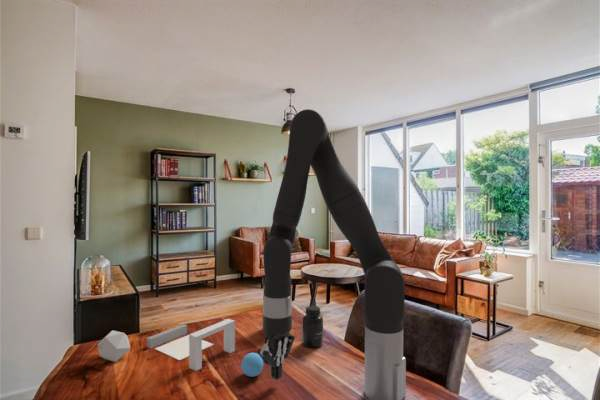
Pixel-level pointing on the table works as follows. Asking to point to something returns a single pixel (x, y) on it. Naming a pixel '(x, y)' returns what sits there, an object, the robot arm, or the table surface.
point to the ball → (252, 364)
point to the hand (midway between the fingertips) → (276, 377)
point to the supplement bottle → (312, 327)
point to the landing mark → (180, 348)
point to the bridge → (196, 337)
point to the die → (113, 346)
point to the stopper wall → (166, 336)
